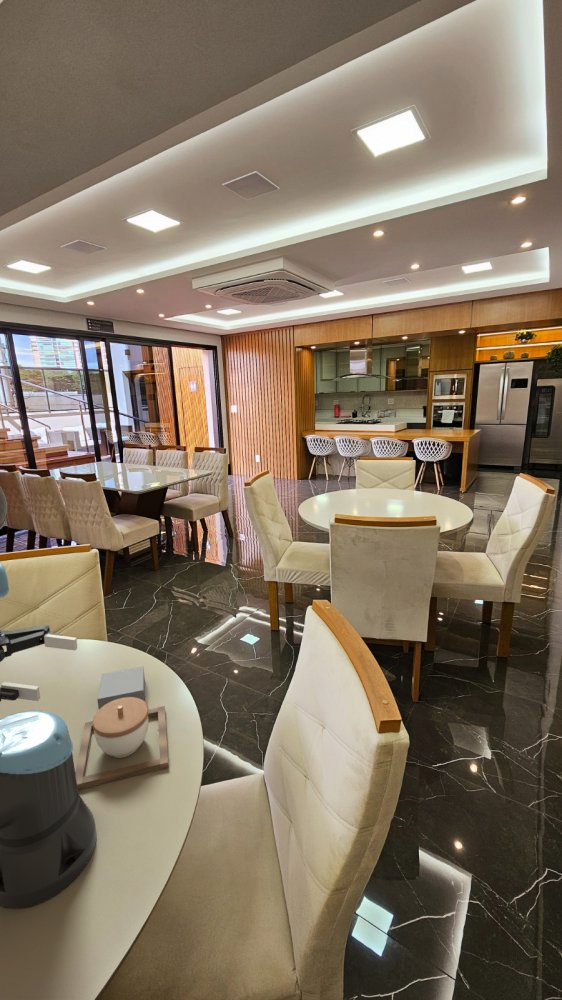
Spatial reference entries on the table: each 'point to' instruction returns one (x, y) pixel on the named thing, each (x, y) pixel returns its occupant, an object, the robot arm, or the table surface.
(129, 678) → the gray stand
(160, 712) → the walnut collar
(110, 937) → the table surface
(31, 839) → the robot arm
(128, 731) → the lidded jar
